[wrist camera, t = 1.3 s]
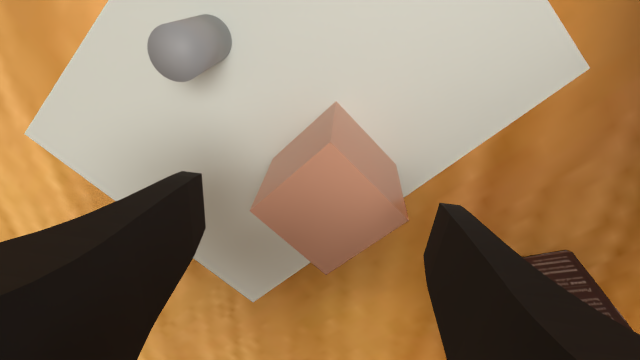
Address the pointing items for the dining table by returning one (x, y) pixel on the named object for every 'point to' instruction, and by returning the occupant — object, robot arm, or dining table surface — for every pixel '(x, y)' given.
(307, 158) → the peach colored cube
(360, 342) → the dining table surface
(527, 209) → the dining table surface
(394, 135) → the board
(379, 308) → the dining table surface
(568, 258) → the box
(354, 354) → the dining table surface
